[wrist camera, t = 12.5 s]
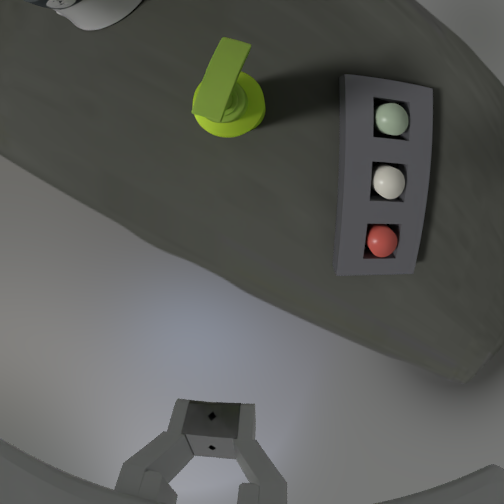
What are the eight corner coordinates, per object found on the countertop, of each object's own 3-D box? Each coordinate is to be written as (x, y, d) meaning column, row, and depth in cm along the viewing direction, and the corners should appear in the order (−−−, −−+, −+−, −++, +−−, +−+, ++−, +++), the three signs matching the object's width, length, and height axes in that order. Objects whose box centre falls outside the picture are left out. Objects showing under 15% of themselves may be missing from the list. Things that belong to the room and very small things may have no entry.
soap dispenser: (275, 88, 32) (283, 53, 14) (255, 138, 35) (242, 157, 17) (230, 73, 32) (190, 27, 14) (211, 123, 35) (152, 128, 16)
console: (338, 77, 31) (344, 73, 28) (422, 89, 30) (432, 88, 28) (332, 265, 42) (336, 275, 39) (405, 264, 41) (413, 273, 39)
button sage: (370, 102, 32) (379, 101, 29) (398, 106, 31) (408, 105, 29) (370, 132, 33) (378, 133, 30) (398, 135, 33) (407, 137, 30)
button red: (365, 221, 38) (371, 228, 36) (391, 221, 38) (399, 229, 35) (362, 248, 40) (368, 257, 37) (387, 247, 40) (394, 257, 37)
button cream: (369, 162, 35) (377, 166, 32) (396, 164, 35) (406, 168, 32) (367, 192, 37) (375, 198, 34) (394, 193, 36) (403, 199, 34)
